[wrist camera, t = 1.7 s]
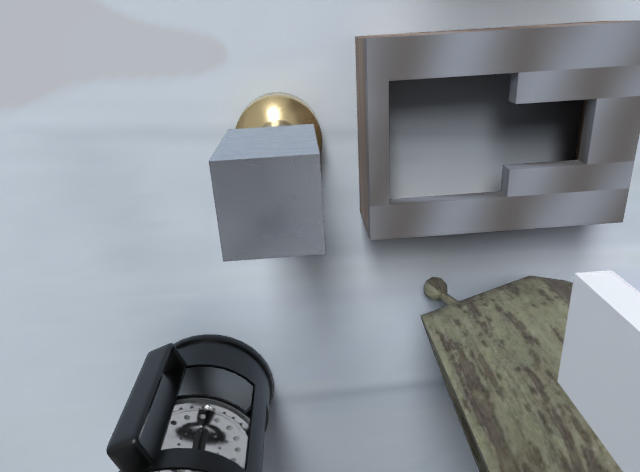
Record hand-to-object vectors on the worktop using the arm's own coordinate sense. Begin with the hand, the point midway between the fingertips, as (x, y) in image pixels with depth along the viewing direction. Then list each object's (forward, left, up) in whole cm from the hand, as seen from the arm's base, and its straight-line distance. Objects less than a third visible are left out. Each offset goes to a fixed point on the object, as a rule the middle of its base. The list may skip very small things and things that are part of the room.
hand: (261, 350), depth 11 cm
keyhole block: (+12, 0, -23) cm, 26 cm away
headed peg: (0, 0, -23) cm, 23 cm away
